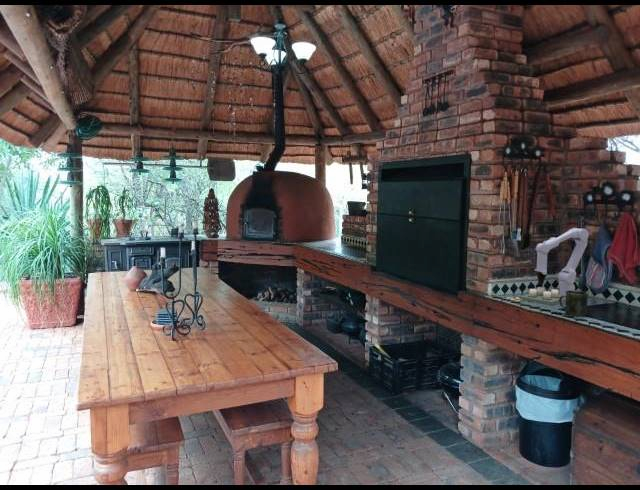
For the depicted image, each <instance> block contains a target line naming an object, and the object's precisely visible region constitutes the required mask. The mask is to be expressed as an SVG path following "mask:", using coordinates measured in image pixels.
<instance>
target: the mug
mask: <svg viewBox="0 0 640 490" xmlns="http://www.w3.org/2000/svg"><path fill="white" fill-rule="evenodd" d="M565 292H566V296H561V297H560V298H559V303H558V304H559V305H560V307H561V308H562V309H564V310H565V312H564V313H565V314H567V315H569V316H576V317H577V316H578V317H584V316H587V313H588V312H587V311H588V310H587V309H588V295H589V292H587V291H583V290H569V291H565ZM564 297H566V301H565V306H564V305H563V302H561V299H562V298H564Z"/></svg>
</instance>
